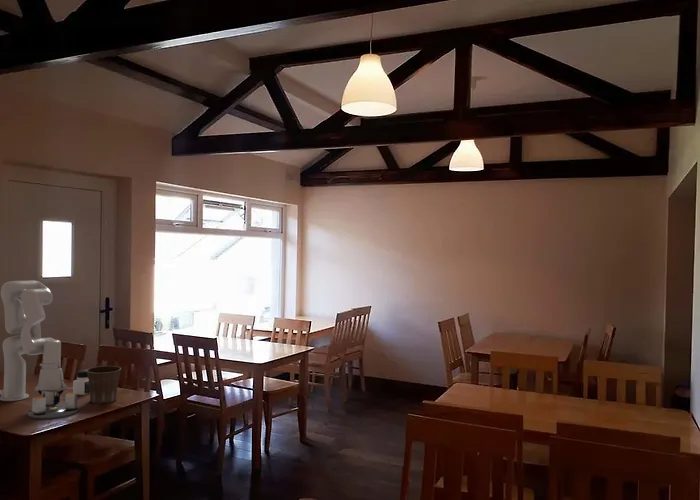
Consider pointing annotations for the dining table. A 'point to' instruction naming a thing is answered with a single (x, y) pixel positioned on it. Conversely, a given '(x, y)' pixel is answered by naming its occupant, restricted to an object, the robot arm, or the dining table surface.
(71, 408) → the white short cylinder
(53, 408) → the grey round tray
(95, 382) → the plant pot
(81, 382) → the medicine bottle
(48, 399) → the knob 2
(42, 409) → the knob
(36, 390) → the robot arm
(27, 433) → the dining table surface
